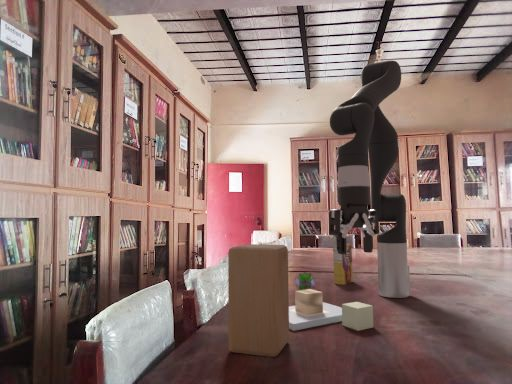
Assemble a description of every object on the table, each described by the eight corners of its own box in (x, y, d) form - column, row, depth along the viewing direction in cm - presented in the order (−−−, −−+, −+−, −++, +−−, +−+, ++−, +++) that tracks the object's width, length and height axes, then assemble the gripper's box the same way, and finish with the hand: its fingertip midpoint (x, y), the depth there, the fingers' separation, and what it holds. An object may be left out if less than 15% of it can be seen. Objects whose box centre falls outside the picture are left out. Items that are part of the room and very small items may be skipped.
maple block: (310, 307, 97) (310, 288, 97) (322, 312, 92) (322, 292, 93) (295, 310, 94) (295, 290, 95) (307, 314, 90) (307, 294, 90)
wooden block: (290, 341, 75) (288, 244, 76) (277, 359, 66) (275, 248, 67) (245, 337, 78) (244, 243, 80) (226, 353, 69) (226, 247, 70)
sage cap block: (357, 322, 89) (357, 301, 89) (373, 327, 85) (372, 305, 85) (342, 325, 86) (341, 304, 87) (357, 331, 82) (357, 308, 82)
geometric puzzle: (317, 288, 121) (314, 266, 127) (296, 288, 122) (295, 266, 127) (314, 297, 127) (312, 276, 132) (295, 297, 127) (294, 276, 132)
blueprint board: (320, 306, 104) (320, 301, 104) (357, 318, 92) (356, 311, 92) (261, 316, 94) (261, 310, 94) (293, 330, 82) (293, 323, 82)
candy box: (343, 280, 147) (342, 243, 148) (353, 281, 145) (352, 243, 146) (333, 284, 140) (332, 244, 142) (343, 285, 138) (342, 244, 139)
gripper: (342, 183, 81) (344, 256, 80) (386, 185, 88) (388, 252, 87) (320, 186, 88) (322, 253, 86) (362, 188, 95) (364, 250, 94)
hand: (355, 253), depth 87 cm, fingers open, 8 cm apart
